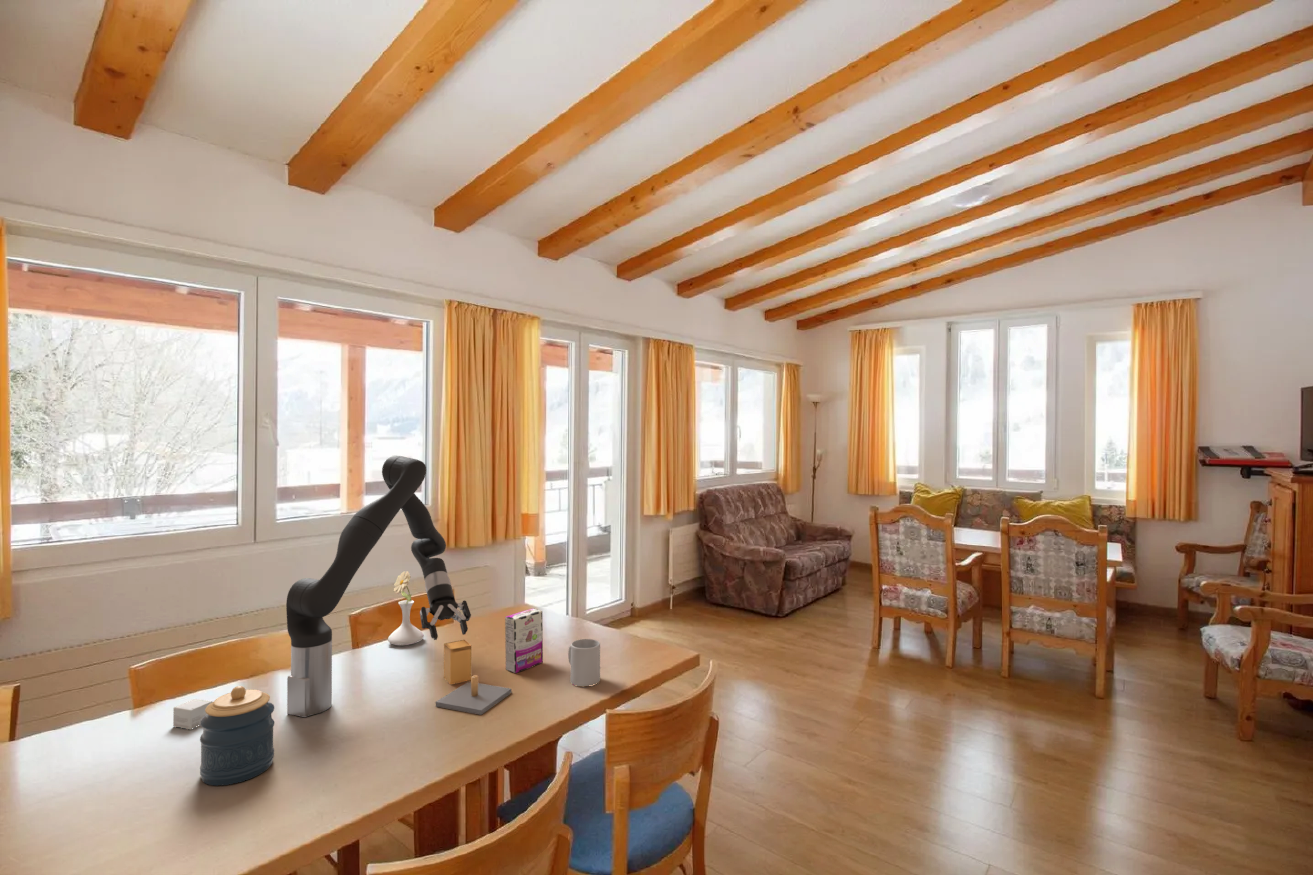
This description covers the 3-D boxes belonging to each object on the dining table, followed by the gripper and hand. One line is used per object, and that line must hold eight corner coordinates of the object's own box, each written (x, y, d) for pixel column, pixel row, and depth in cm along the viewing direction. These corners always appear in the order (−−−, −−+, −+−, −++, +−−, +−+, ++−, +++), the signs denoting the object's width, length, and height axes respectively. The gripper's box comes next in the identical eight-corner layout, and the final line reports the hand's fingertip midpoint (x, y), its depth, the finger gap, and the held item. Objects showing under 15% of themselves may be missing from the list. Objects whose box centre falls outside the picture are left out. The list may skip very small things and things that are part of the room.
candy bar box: (532, 659, 194) (532, 607, 194) (543, 662, 191) (543, 610, 191) (504, 669, 186) (504, 615, 185) (514, 674, 183) (515, 618, 182)
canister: (261, 747, 139) (261, 669, 139) (283, 767, 131) (284, 685, 131) (191, 771, 129) (191, 687, 129) (210, 795, 121) (211, 705, 121)
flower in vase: (387, 639, 212) (387, 567, 211) (422, 635, 216) (423, 564, 216) (388, 652, 200) (388, 575, 199) (425, 647, 204) (426, 572, 204)
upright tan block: (471, 679, 178) (471, 645, 178) (450, 684, 174) (450, 649, 174) (464, 673, 183) (464, 639, 183) (443, 677, 179) (444, 643, 179)
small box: (213, 720, 152) (213, 700, 152) (190, 730, 147) (190, 710, 147) (195, 717, 154) (195, 697, 154) (172, 727, 148) (172, 707, 148)
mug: (606, 681, 177) (606, 643, 177) (582, 690, 172) (582, 650, 171) (580, 669, 186) (581, 633, 186) (557, 677, 180) (557, 640, 180)
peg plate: (481, 714, 156) (481, 690, 156) (435, 706, 161) (435, 682, 161) (511, 692, 169) (511, 670, 169) (468, 685, 174) (468, 663, 174)
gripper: (418, 586, 187) (428, 633, 177) (464, 579, 195) (477, 625, 186) (413, 599, 191) (423, 646, 182) (458, 592, 199) (471, 637, 190)
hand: (450, 635), depth 184 cm, fingers open, 8 cm apart
